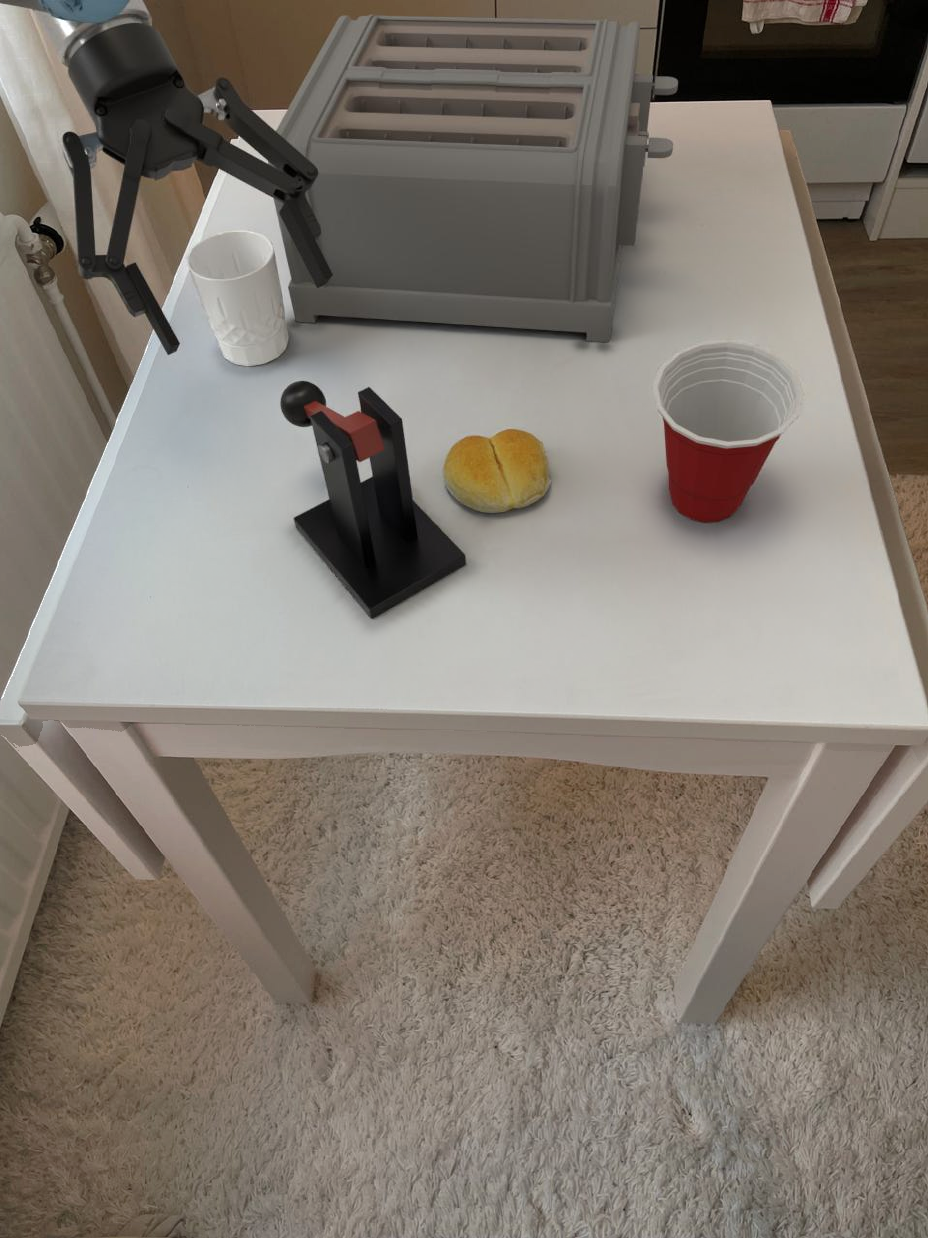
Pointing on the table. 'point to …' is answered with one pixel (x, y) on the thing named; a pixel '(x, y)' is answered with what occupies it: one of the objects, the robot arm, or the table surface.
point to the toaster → (473, 169)
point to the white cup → (241, 295)
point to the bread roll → (497, 471)
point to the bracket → (374, 517)
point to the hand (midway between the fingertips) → (251, 315)
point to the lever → (331, 418)
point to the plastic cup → (722, 421)
